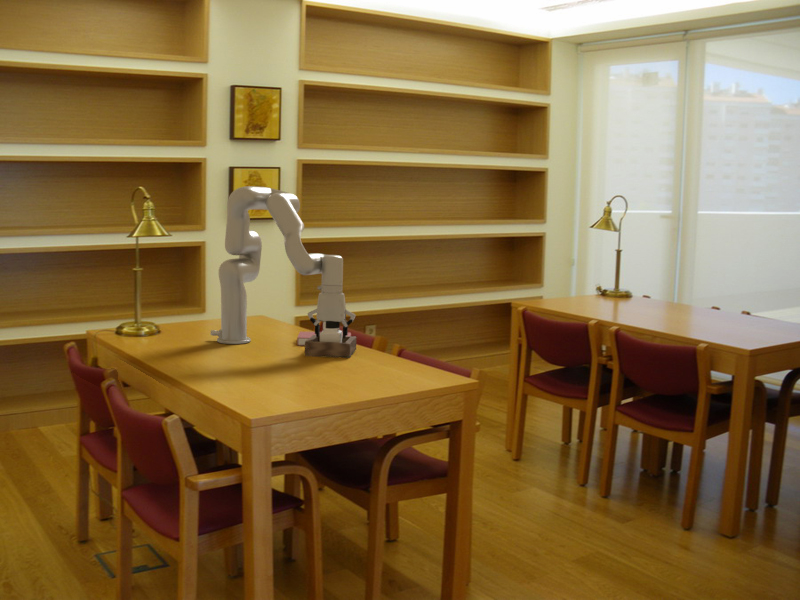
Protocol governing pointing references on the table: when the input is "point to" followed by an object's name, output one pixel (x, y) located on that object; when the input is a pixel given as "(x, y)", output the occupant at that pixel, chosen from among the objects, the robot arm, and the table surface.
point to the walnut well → (330, 347)
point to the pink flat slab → (306, 335)
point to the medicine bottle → (331, 332)
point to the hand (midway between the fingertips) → (331, 336)
